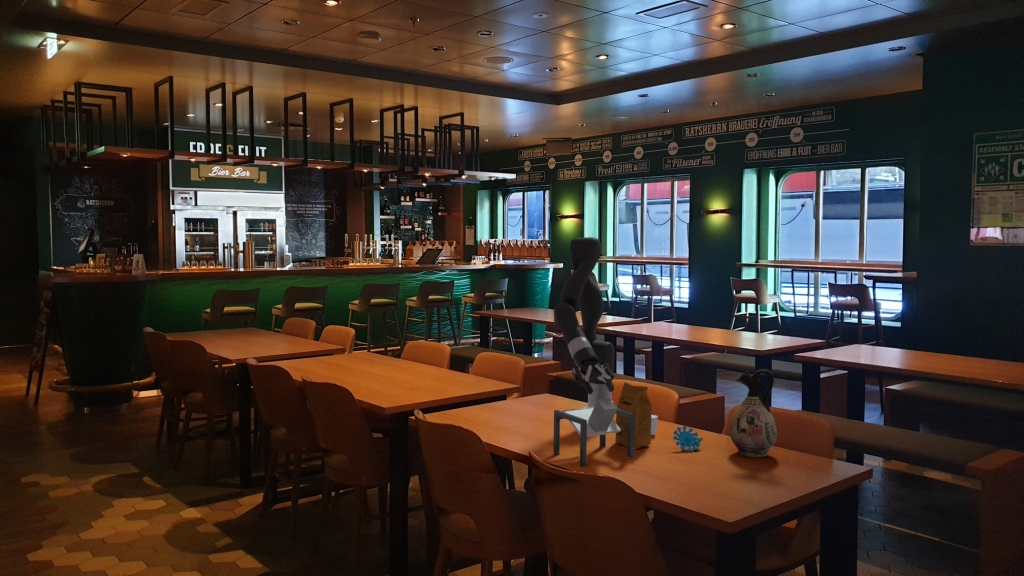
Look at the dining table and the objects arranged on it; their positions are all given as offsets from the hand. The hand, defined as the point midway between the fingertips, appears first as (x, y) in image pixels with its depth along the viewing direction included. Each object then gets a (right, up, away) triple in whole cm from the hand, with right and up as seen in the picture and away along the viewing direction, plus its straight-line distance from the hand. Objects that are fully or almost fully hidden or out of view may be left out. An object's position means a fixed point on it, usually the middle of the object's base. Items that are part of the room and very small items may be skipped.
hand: (602, 391), depth 255 cm
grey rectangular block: (-1, -12, +3) cm, 12 cm away
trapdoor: (-3, -11, +6) cm, 13 cm away
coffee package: (+13, -22, +20) cm, 32 cm away
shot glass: (+22, -21, +35) cm, 46 cm away
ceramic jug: (+53, -23, +9) cm, 59 cm away
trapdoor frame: (-2, -22, +5) cm, 23 cm away
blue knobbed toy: (+32, -22, +15) cm, 42 cm away
